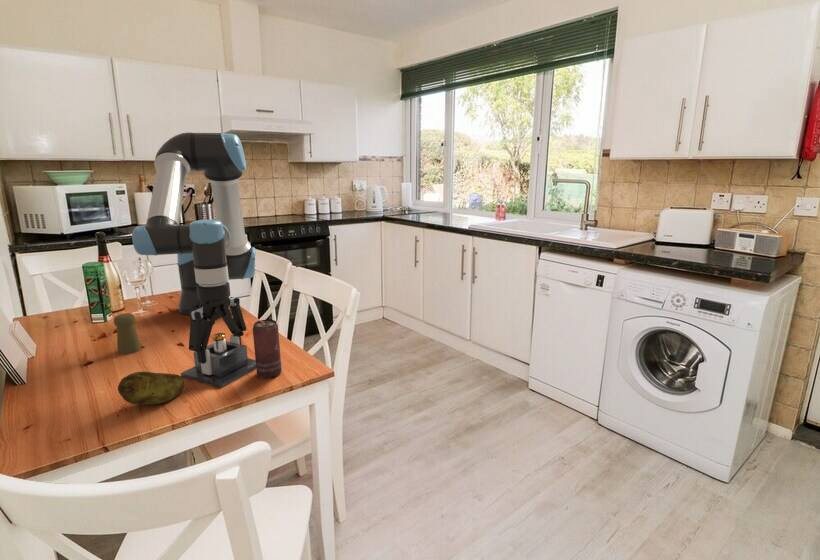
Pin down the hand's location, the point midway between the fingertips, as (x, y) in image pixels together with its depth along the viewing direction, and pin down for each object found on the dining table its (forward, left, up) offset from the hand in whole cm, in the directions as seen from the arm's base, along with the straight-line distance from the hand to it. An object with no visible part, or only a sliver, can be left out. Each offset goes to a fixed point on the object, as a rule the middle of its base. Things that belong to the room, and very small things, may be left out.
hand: (222, 365), depth 116 cm
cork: (+2, -35, -2) cm, 35 cm away
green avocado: (+18, -1, -2) cm, 18 cm away
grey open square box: (0, 0, 0) cm, 0 cm away
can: (-4, +12, -2) cm, 13 cm away
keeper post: (0, 0, -1) cm, 1 cm away
